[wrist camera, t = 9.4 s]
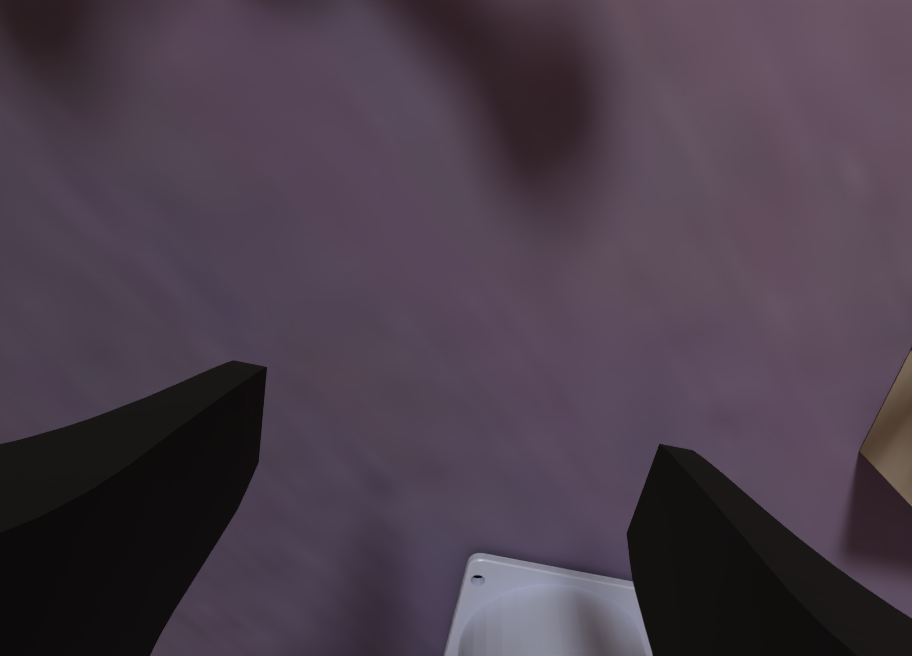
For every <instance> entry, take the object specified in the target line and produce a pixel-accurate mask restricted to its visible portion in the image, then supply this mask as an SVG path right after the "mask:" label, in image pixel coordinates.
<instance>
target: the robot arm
mask: <svg viewBox="0 0 912 656" xmlns="http://www.w3.org/2000/svg"><path fill="white" fill-rule="evenodd" d="M266 372H267V367H264V366H259V365H254V364H249V363H244V362H239V361H234V360H233V361H230V362H227V363H224V364H222V365H219V366H217V367H215V368H212V369H210V370H208V371H205V372H203V373H201V374H199V375H196V376H194V377H192V378H190V379H187V380H185V381H183V382H180V383H178V384H176V385H174V386H171V387H169V388H167V389H164V390H162V391H160V392H157V393H155V394H153V395H151V396H148V397H146V398H143V399H141V400H138V401H135V402H133V403H130V404H127V405H125V406H122V407H120V408H117V409H114V410H112V411H109V412H107V413H104V414H101V415H99V416H96V417H93V418H91V419H88V420H85V421H82V422H79V423H76V424H72V425H69V426H66V427H63V428H60V429H56V430H53V431H49V432H46V433H42V434H39V435H35V436H32V437H28V438H24V439H21V440H17V441H13V442H8V443H4V444H0V656H150V654H151V652H152V650H153V648H154V646H155V644H156V642H157V640H158V638H159V636H160V634H161V633H162V631H163V629H164V627H165V626H166V624H167V622H168V620H169V619H170V617H171V615H172V613H173V612H174V610H175V608H176V607H177V605H178V604H179V602H180V600H181V599H182V597H183V596H184V594H185V593H186V591H187V589H188V588H189V586H190V585H191V583H192V581H193V580H194V578H195V577H196V575H197V573H198V572H199V570H200V569H201V567H202V565H203V564H204V562H205V561H206V559H207V558H208V556H209V554H210V553H211V551H212V550H213V548H214V546H215V545H216V543H217V542H218V540H219V538H220V537H221V535H222V534H223V532H224V530H225V529H226V527H227V525H228V524H229V522H230V521H231V519H232V517H233V516H234V514H235V512H236V511H237V509H238V507H239V505H240V503H241V501H242V498H243V496H244V494H245V492H246V490H247V488H248V485H249V483H250V481H251V479H252V476H253V474H254V472H255V469H256V467H257V465H258V462H259V451H260V440H261V429H262V417H263V406H264V395H265V383H266ZM627 540H628V549H629V558H630V565H631V572H632V579H633V582H632V581H626V580H621V579H616V578H611V577H605V576H600V575H595V574H590V573H584V572H579V571H574V570H569V569H563V568H558V567H553V566H548V565H542V564H537V563H532V562H527V561H521V560H516V559H511V558H506V557H500V556H495V555H490V554H485V553H477V554H473V555H472V556H471V557H469V559H468V561H467V565H466V569H465V573H464V577H463V581H462V585H461V588H460V592H459V596H458V600H457V604H456V608H455V612H454V616H453V620H452V624H451V628H450V632H449V636H448V640H447V644H446V648H445V652H444V655H443V656H912V618H910V617H908V616H907V615H905V614H904V613H902V612H901V611H899V610H897V609H896V608H894V607H893V606H891V605H890V604H888V603H887V602H885V601H884V600H883V599H881V598H880V597H878V596H877V595H875V594H874V593H872V592H871V591H869V590H868V589H866V588H865V587H863V586H862V585H861V584H859V583H858V582H856V581H855V580H853V579H852V578H850V577H849V576H848V575H846V574H845V573H844V572H842V571H841V570H839V569H838V568H837V567H835V566H834V565H833V564H831V563H830V562H829V561H827V560H826V559H825V558H824V557H822V556H821V555H820V554H818V553H817V552H816V551H815V550H813V549H812V548H811V547H809V546H808V545H807V544H806V543H804V542H803V541H802V540H800V539H799V538H798V537H797V536H796V535H794V534H793V533H792V532H791V531H789V530H788V529H787V528H786V527H785V526H783V525H782V524H781V523H780V522H779V521H777V520H776V519H775V518H774V517H773V516H771V515H770V514H769V513H768V512H767V511H766V510H764V509H763V508H762V507H761V506H760V505H759V504H757V503H756V502H755V501H754V500H753V499H752V498H750V497H749V496H748V495H747V494H746V493H745V492H743V491H742V490H741V489H740V488H739V487H738V486H737V485H735V484H734V483H733V482H732V481H731V480H730V479H728V478H727V477H726V476H725V475H724V474H723V473H721V472H720V471H719V470H718V469H717V468H715V467H714V466H713V465H712V464H711V463H709V462H708V461H707V460H705V459H704V458H703V457H701V456H700V455H699V454H697V453H696V452H694V451H693V450H688V449H683V448H678V447H673V446H668V445H663V444H659V447H658V449H657V452H656V455H655V458H654V460H653V463H652V466H651V469H650V471H649V474H648V477H647V479H646V482H645V485H644V488H643V490H642V493H641V496H640V498H639V501H638V504H637V507H636V509H635V512H634V515H633V518H632V520H631V523H630V526H629V528H628V531H627ZM475 575H480V576H483V577H482V578H475V577H473V576H475Z"/></svg>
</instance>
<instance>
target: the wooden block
mask: <svg viewBox="0 0 912 656" xmlns="http://www.w3.org/2000/svg"><path fill="white" fill-rule="evenodd" d="M860 452H861V453H862V454H863V455H864V457H865V458H866V459H867V460H868V461H869V462H870V463H871V464H872V465H873V466H874V467H875V468H876V469H877V470H878V471H879V472H880V473H881V474H882V476H883V477H884V478H885V479H886V480H887V481H888V482H889V483H890V484H891V485H892V486H893V487H894V488H895V489H896V490H897V491H898V492H899V493H900V495H901V496H902V497H903V498H904V499H905V500H906V501H907V502H908V503H909V504H910V505H911V506H912V349H911V351H910V353H909V355H908V357H907V359H906V361H905V363H904V365H903V367H902V369H901V371H900V373H899V375H898V377H897V379H896V381H895V383H894V385H893V386H892V388H891V390H890V392H889V394H888V396H887V398H886V400H885V402H884V404H883V406H882V408H881V410H880V412H879V414H878V416H877V418H876V420H875V422H874V424H873V426H872V428H871V430H870V432H869V434H868V436H867V437H866V439H865V441H864V443H863V445H862V447H861V449H860Z"/></svg>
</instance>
